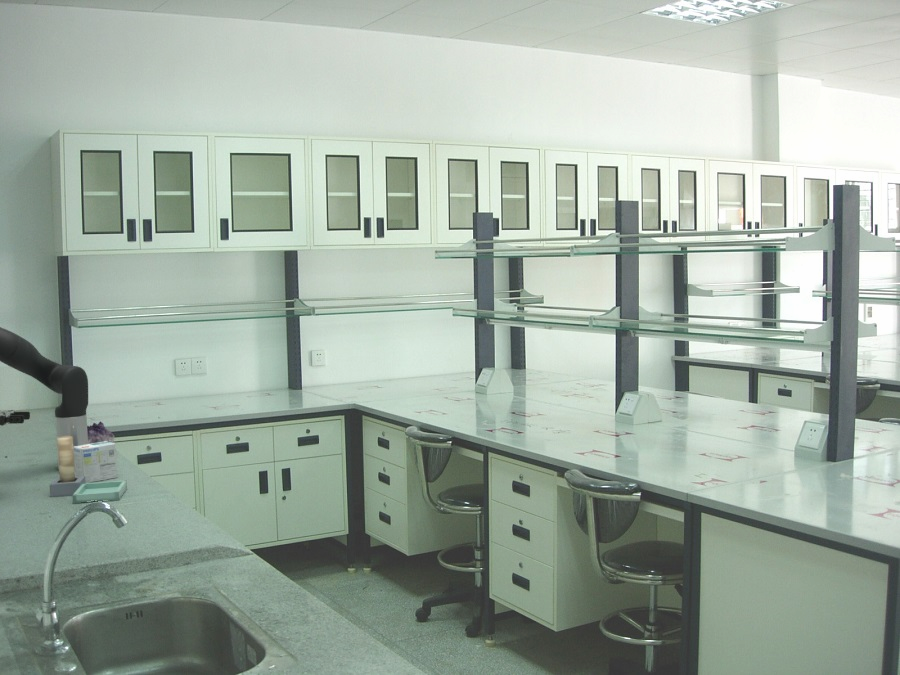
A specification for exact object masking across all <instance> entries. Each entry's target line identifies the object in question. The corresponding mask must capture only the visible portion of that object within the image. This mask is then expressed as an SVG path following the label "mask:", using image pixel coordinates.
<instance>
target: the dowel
mask: <svg viewBox="0 0 900 675" xmlns="http://www.w3.org/2000/svg"><path fill="white" fill-rule="evenodd" d="M57 440H58V453H57V457H58V456H59V468H58V471H59V478H60V483H62V482H75V477H76V475H75V468H74V452H73V436H62V437H58V438H57V437H56V441H57Z"/></svg>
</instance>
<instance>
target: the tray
mask: <svg viewBox="0 0 900 675" xmlns="http://www.w3.org/2000/svg"><path fill="white" fill-rule="evenodd" d="M127 489H128V481H127V480H126V479H125V480H114V481H96V482H91V483H83V484H82V485H81V486H80V487H79V488H78V489H77V491H76V492H75V493H74V494H73V495H71V496H72V504H73V503H75V504H82V503H81V502H87V501H91V500H94V501H95V500H97V501H102V502H104V501H103V500H108V501H107V502H113V501H114V500H115V501H120V500H121V498H122V496H124V494H123V493H125V492H126V491H127ZM110 500H112V501H110ZM90 503H94V502H93V501H91V502H90Z"/></svg>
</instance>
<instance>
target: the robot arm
mask: <svg viewBox="0 0 900 675" xmlns="http://www.w3.org/2000/svg"><path fill="white" fill-rule="evenodd" d="M0 363H3V364H5V365H6V366H8V367H10V368H12V369H15V370H16V371H18V372H20V373H23V374H24V375H27V376H29V377H31V378H33V379H35V380H37V381H38V382H39V383H40V384H42V385H43V386H45V387H46V388H48V389H49V390H51V391H52V392H54V393H56V394H60V395H61V403H60V405H58V406H56V407H55V408H54V417H55V418H54V420H55V433H56V435H55V436H56V448H57V450H56V451H57V454H58V440H57V438H58V437H62V436H73V447H74V446H81V445H86V444H88V433H87V426H88V422H87V420H88V419H87V408H88V405H89V378H88V374H87V373H86V371H85V369H84V368H82V367H81V366H78V365H64V364H61V363H57V362H55V361H53V360H51V359H49V358H47V357H45V356H43V355H42V354H41V353H40V352H39V350H38V349H37V347H36V346H35V345H33V344H32V343H31V342H30V341H28V340H27V339H26V338H23V337H22V336H20V335H18V334H17V333H15V332H13V331H10V330H8V329H6V328H3V327H0ZM30 419H31V412H30V411H16V410H14V409H11V410H10V409H9V410H8V409H7V410H6V409H1V410H0V426H1V427H2V426H5V425H10V424H11V425H12V424H16V425H17V424H24V423H25V420H30ZM73 452H74V449H73ZM57 464H58V465H57V467H58V469H59V456H58V455H57ZM74 468H75V462H74Z"/></svg>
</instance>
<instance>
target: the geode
mask: <svg viewBox="0 0 900 675" xmlns="http://www.w3.org/2000/svg"><path fill="white" fill-rule="evenodd" d="M87 433H88V444H92V443H99V442H104V441H108V442H112V443H115V435H114V434H113V432H112V431H111V430H110V429H107V428H106V427H105V424H104V423H103V422H102V421H98V423H96V422H93V424H92V425H91V424H90V425H87Z"/></svg>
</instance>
